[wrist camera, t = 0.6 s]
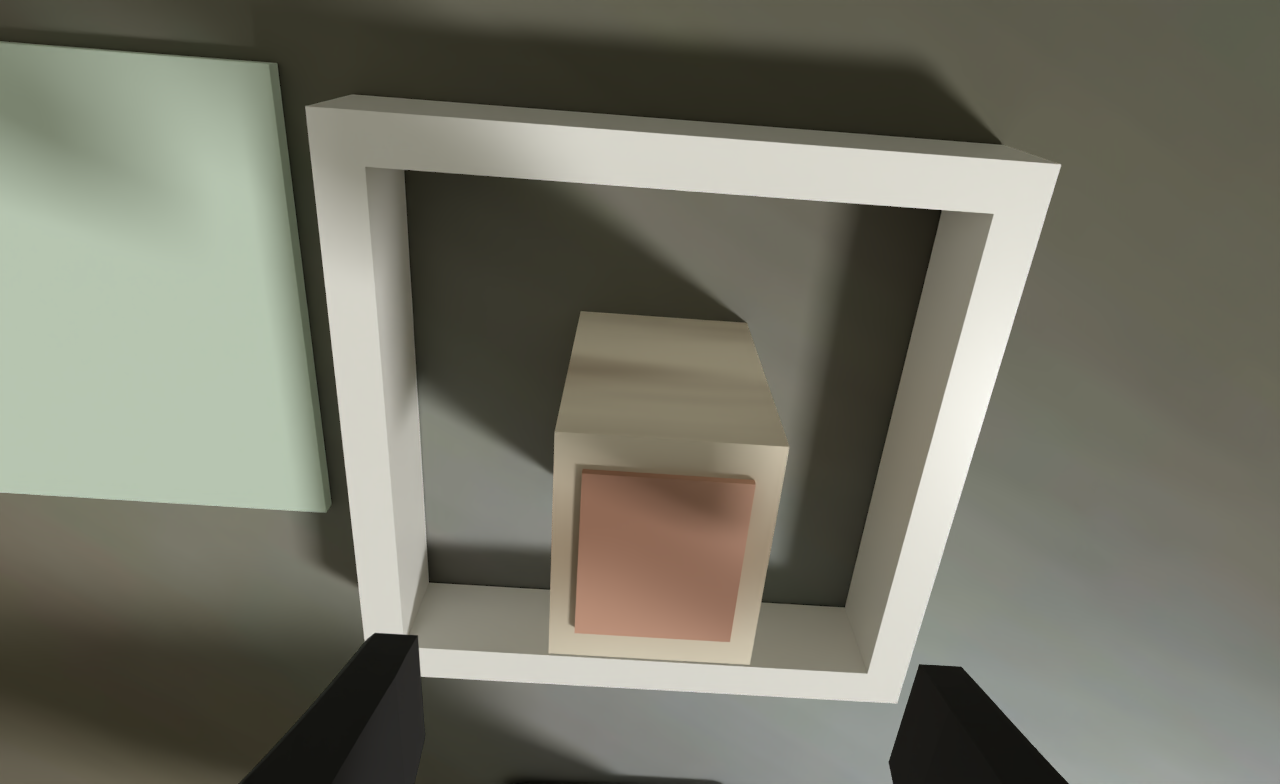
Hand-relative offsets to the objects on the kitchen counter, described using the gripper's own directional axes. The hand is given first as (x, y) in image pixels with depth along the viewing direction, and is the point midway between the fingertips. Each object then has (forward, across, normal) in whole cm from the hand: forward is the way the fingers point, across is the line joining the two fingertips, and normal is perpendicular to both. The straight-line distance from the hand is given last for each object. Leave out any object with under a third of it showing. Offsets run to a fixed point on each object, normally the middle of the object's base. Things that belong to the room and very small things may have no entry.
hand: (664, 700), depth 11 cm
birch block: (+9, 0, 0) cm, 9 cm away
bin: (+9, 0, 0) cm, 9 cm away
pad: (+9, +14, -2) cm, 17 cm away
